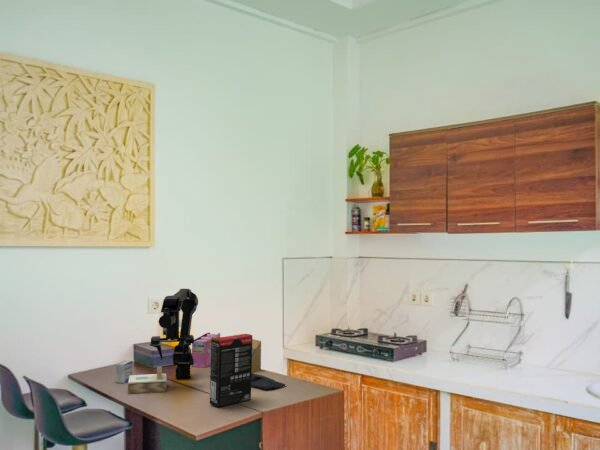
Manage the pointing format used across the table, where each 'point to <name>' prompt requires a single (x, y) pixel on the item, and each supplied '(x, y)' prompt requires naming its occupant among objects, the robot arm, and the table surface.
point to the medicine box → (124, 371)
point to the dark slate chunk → (264, 382)
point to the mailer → (146, 387)
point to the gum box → (203, 350)
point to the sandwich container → (256, 355)
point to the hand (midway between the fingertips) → (172, 359)
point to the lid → (148, 377)
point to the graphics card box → (230, 369)
